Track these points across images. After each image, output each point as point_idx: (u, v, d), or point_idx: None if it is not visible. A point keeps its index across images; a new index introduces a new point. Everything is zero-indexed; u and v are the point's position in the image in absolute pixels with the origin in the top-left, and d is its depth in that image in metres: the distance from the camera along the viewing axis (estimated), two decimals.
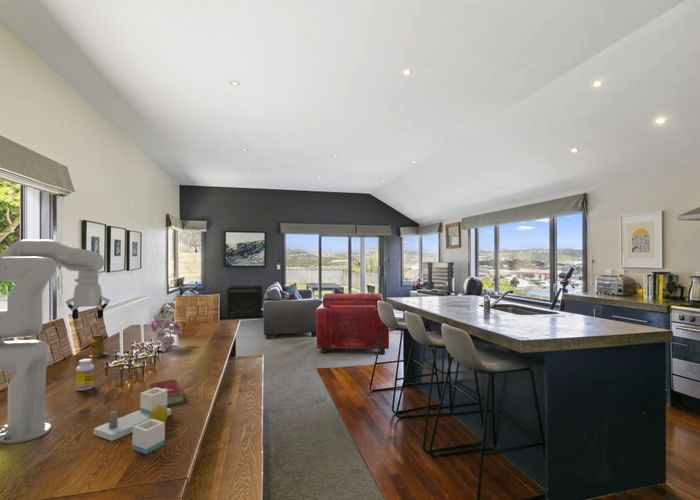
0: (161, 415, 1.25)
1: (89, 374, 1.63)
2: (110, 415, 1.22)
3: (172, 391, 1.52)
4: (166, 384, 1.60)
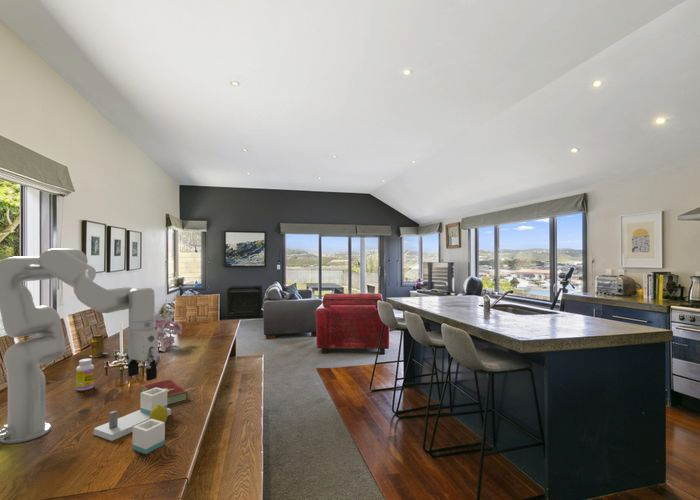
0: (161, 415, 1.25)
1: (89, 374, 1.63)
2: (110, 415, 1.22)
3: (174, 390, 1.53)
4: (163, 384, 1.59)
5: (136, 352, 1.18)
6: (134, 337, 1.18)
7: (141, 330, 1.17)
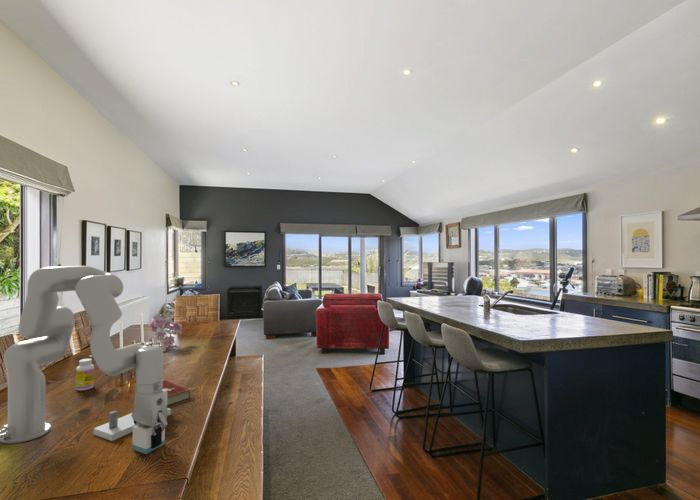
0: None
1: (89, 374, 1.63)
2: (110, 415, 1.22)
3: (176, 389, 1.53)
4: None
5: (143, 416, 1.12)
6: (141, 400, 1.13)
7: (149, 393, 1.12)
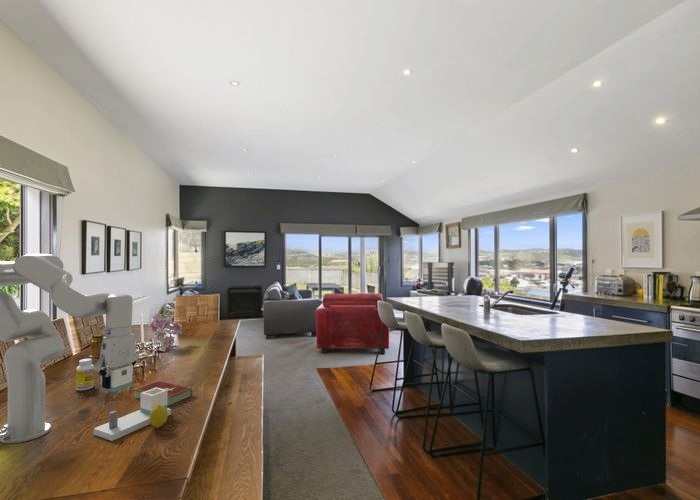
0: (161, 415, 1.25)
1: (89, 374, 1.63)
2: (110, 415, 1.22)
3: (177, 388, 1.54)
4: (158, 386, 1.58)
5: None
6: None
7: (105, 335, 1.20)
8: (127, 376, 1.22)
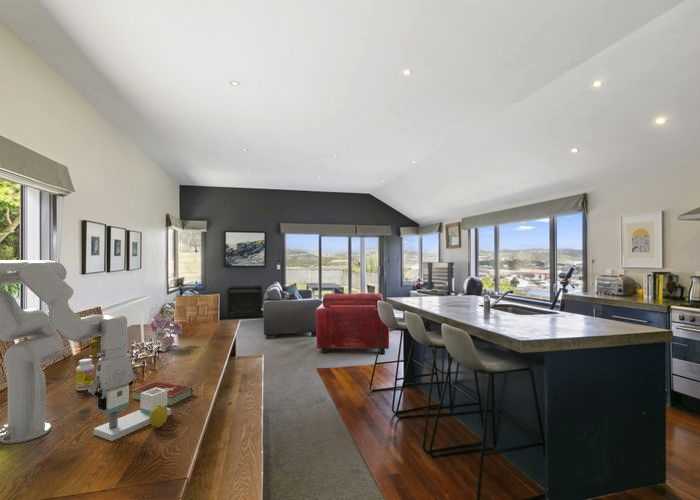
0: (161, 415, 1.25)
1: (89, 374, 1.63)
2: (110, 415, 1.22)
3: (178, 388, 1.55)
4: (156, 386, 1.57)
5: None
6: None
7: None
8: (122, 396, 1.23)
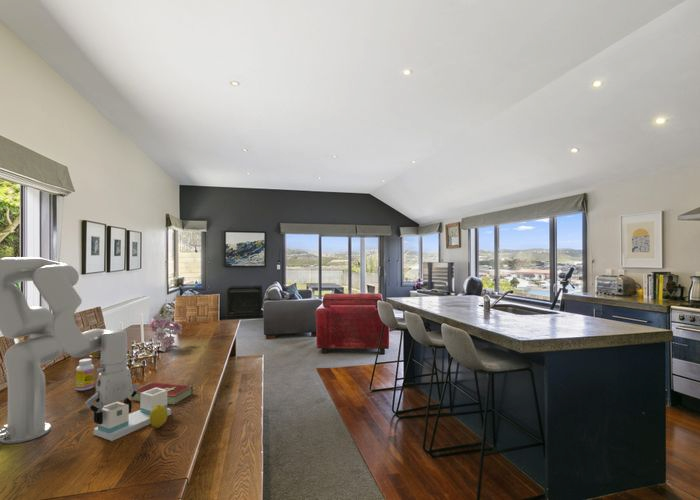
0: (161, 415, 1.25)
1: (89, 374, 1.63)
2: None
3: (178, 388, 1.56)
4: (155, 387, 1.57)
5: None
6: None
7: None
8: (122, 415, 1.23)
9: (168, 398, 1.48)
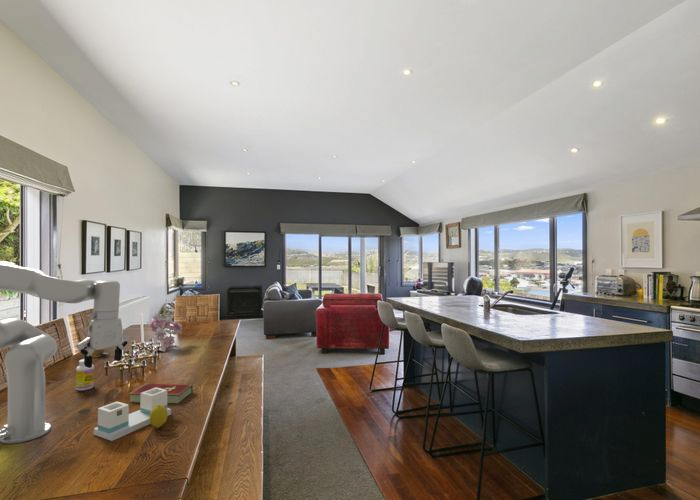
0: (161, 415, 1.25)
1: (89, 374, 1.63)
2: None
3: (178, 387, 1.56)
4: (153, 387, 1.56)
5: None
6: None
7: None
8: (122, 415, 1.23)
9: (171, 397, 1.49)
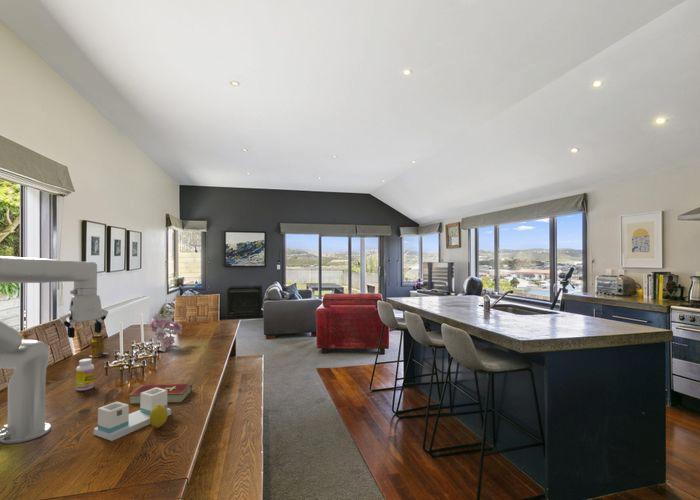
0: (161, 415, 1.25)
1: (89, 374, 1.63)
2: None
3: (178, 386, 1.57)
4: (152, 388, 1.55)
5: None
6: None
7: None
8: (122, 415, 1.23)
9: (174, 396, 1.50)
